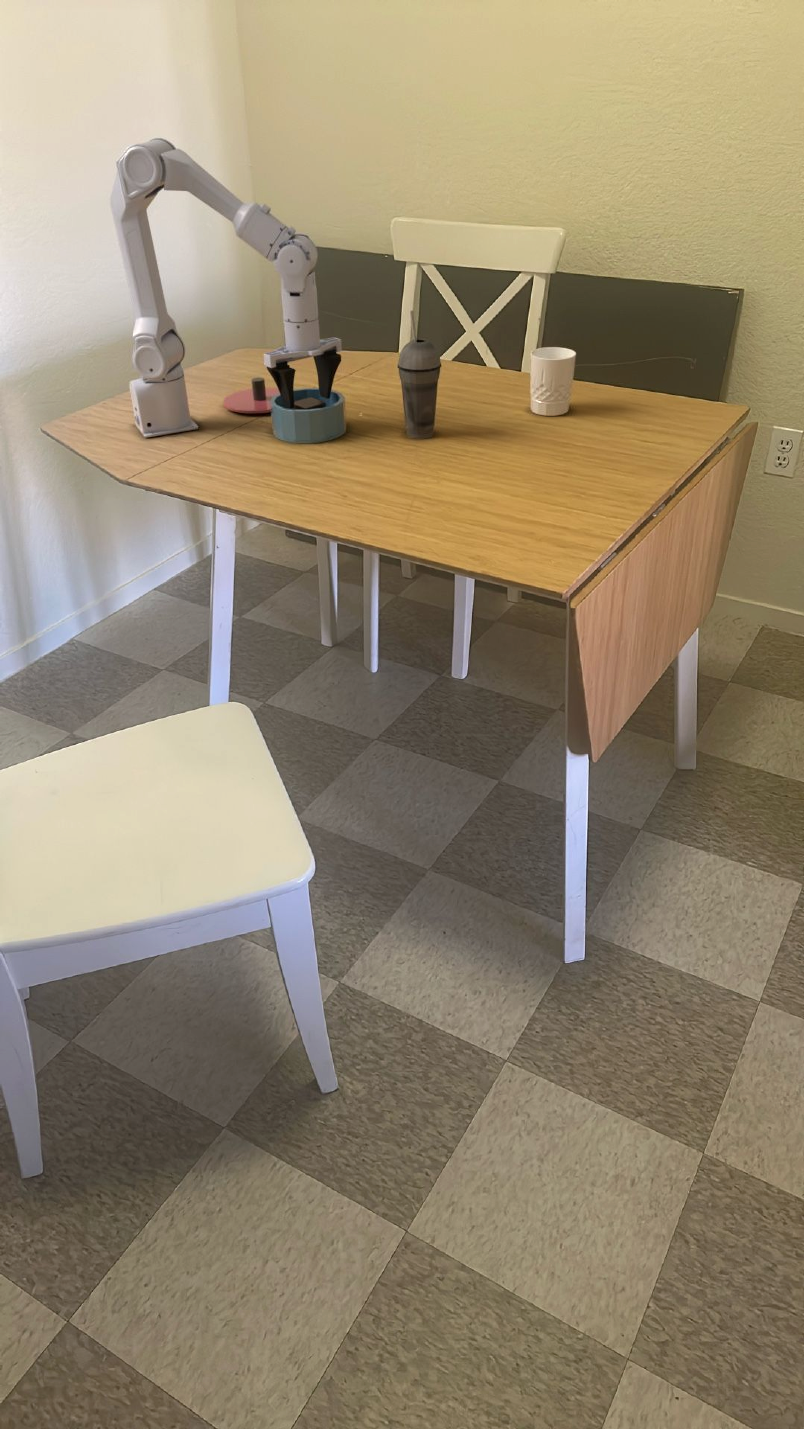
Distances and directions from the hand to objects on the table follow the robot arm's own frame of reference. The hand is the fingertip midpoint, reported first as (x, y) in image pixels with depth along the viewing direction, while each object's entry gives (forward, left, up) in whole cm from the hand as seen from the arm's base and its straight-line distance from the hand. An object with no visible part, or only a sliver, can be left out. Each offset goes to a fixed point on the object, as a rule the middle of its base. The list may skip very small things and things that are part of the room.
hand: (307, 402), depth 166 cm
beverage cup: (+16, -11, -5) cm, 20 cm away
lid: (-3, +18, -4) cm, 19 cm away
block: (0, 0, -5) cm, 5 cm away
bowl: (0, 0, -5) cm, 5 cm away
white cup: (+42, -11, -5) cm, 44 cm away
